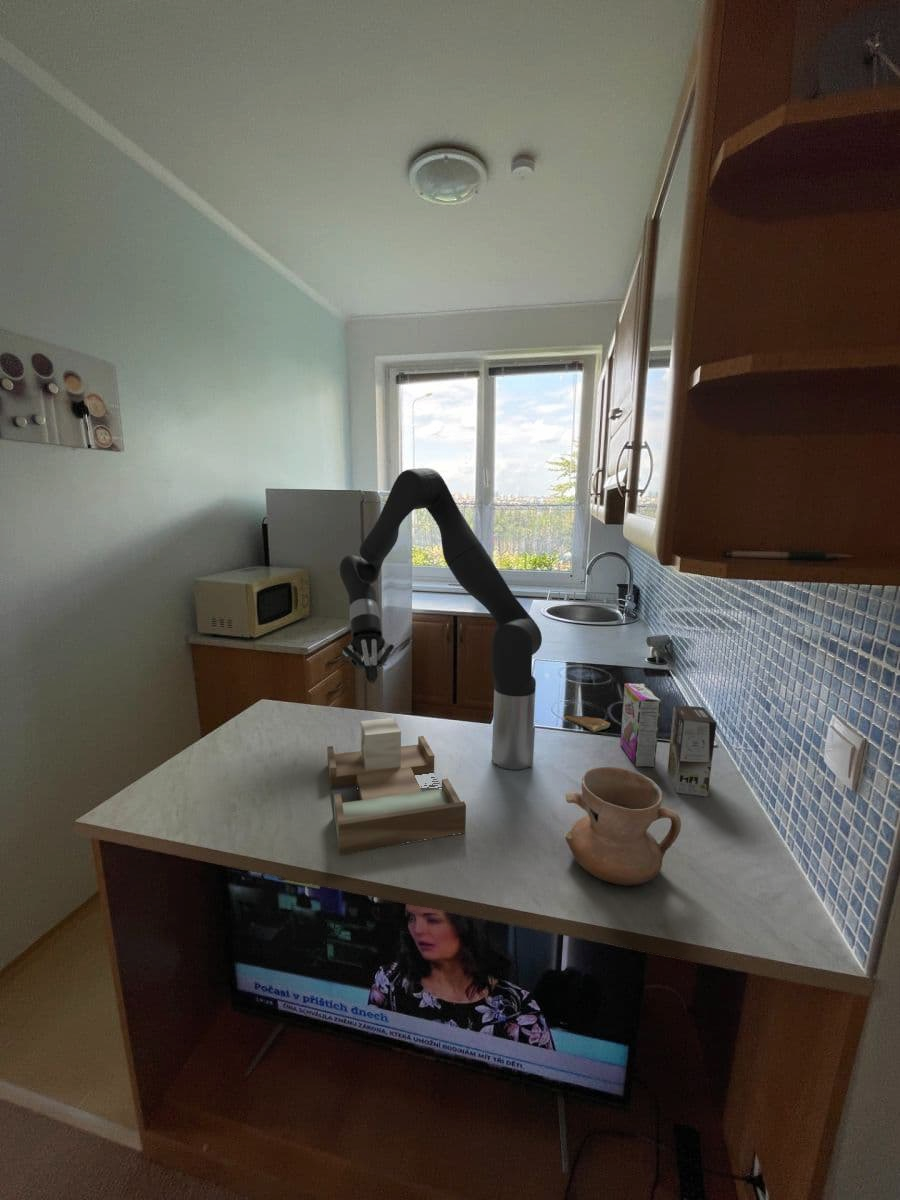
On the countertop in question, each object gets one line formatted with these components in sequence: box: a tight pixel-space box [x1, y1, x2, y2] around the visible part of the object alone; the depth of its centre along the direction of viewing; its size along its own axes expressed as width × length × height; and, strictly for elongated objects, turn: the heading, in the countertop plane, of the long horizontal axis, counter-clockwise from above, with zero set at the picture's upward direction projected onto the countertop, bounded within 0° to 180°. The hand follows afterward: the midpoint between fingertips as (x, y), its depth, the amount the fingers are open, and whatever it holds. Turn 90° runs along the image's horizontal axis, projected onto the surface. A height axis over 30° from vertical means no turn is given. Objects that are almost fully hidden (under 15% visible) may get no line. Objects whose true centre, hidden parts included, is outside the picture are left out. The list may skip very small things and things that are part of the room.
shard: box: [564, 714, 611, 733], centre depth 139 cm, size 11×8×2 cm
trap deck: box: [326, 735, 467, 856], centre depth 101 cm, size 31×22×6 cm
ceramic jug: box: [564, 765, 682, 886], centre depth 81 cm, size 18×14×14 cm
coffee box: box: [666, 704, 718, 797], centre depth 107 cm, size 9×6×16 cm
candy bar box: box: [619, 682, 662, 768], centre depth 119 cm, size 11×5×16 cm, turn 179°
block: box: [360, 717, 402, 771], centre depth 110 cm, size 8×8×8 cm
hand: (372, 682), depth 119 cm, fingers closed
